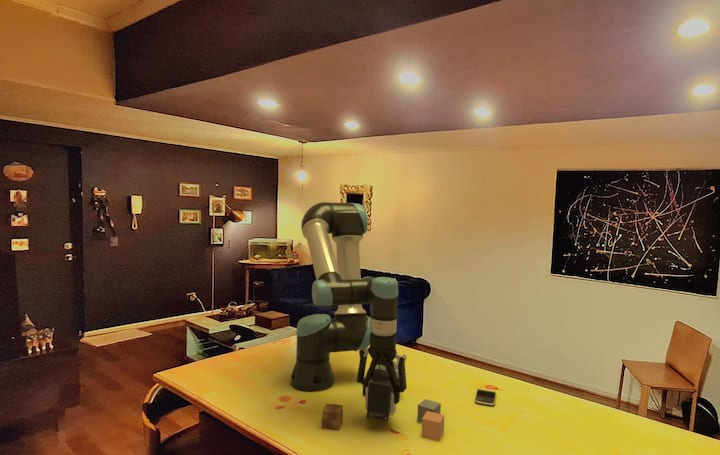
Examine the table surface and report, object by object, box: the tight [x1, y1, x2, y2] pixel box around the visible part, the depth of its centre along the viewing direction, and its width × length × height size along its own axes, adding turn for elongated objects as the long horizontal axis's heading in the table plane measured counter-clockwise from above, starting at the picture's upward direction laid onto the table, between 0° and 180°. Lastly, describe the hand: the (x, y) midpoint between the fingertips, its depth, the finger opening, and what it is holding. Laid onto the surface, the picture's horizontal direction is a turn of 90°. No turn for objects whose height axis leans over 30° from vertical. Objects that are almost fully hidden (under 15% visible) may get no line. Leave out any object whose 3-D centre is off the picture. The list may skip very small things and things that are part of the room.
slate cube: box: [416, 398, 442, 424], centre depth 125 cm, size 5×5×5 cm
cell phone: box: [474, 388, 497, 408], centre depth 141 cm, size 6×11×1 cm, turn 159°
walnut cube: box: [321, 402, 344, 431], centre depth 121 cm, size 5×5×5 cm
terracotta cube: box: [421, 411, 445, 442], centre depth 118 cm, size 5×5×5 cm
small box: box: [365, 369, 393, 422], centre depth 123 cm, size 11×6×10 cm, turn 168°
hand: (380, 410), depth 124 cm, fingers closed on small box, 7 cm apart
